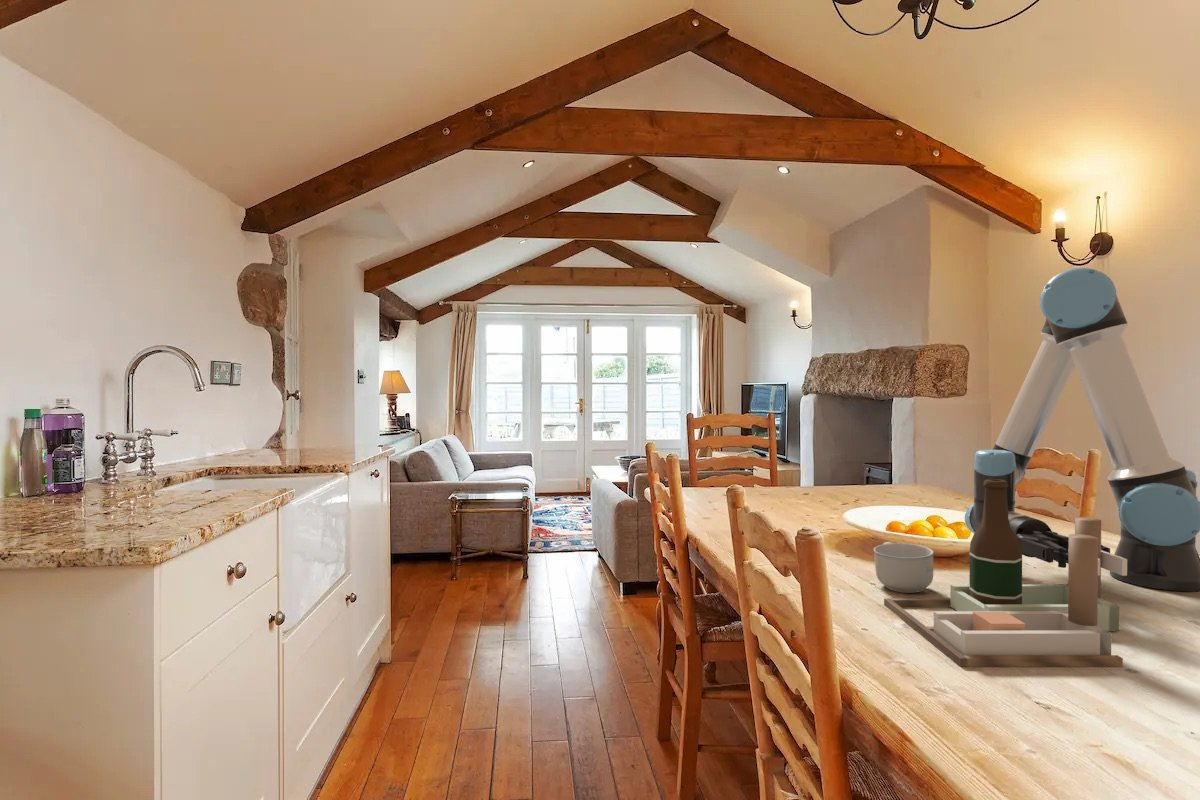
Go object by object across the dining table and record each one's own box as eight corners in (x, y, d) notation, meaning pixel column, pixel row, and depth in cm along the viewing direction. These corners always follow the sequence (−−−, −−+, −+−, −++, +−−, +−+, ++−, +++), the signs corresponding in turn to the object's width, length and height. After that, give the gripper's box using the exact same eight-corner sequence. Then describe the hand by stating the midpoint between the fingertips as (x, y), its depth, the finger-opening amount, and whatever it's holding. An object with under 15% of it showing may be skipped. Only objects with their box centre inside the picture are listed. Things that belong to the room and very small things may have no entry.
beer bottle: (959, 612, 116) (959, 477, 115) (994, 608, 118) (995, 475, 117) (995, 628, 108) (996, 484, 108) (1033, 623, 110) (1033, 482, 110)
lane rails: (1010, 604, 120) (1010, 598, 120) (1122, 666, 93) (1122, 658, 93) (884, 604, 120) (884, 598, 120) (960, 666, 94) (960, 658, 94)
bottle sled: (1073, 606, 118) (1074, 512, 118) (1125, 631, 106) (1126, 526, 106) (950, 606, 119) (950, 513, 118) (988, 631, 107) (988, 527, 106)
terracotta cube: (1005, 643, 102) (1005, 611, 102) (1024, 656, 97) (1025, 623, 97) (972, 643, 103) (972, 611, 102) (990, 656, 98) (990, 623, 97)
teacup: (941, 598, 124) (941, 556, 123) (879, 595, 126) (879, 554, 126) (920, 577, 137) (920, 539, 137) (865, 574, 139) (865, 537, 139)
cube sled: (1072, 635, 104) (1073, 529, 104) (1118, 660, 95) (1119, 544, 95) (933, 636, 105) (933, 530, 104) (965, 660, 95) (965, 545, 95)
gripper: (1064, 552, 130) (1163, 590, 106) (979, 552, 130) (1059, 590, 107) (1065, 515, 130) (1163, 544, 106) (979, 515, 130) (1059, 544, 107)
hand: (1111, 567), depth 107 cm, fingers closed on bottle sled, 4 cm apart
